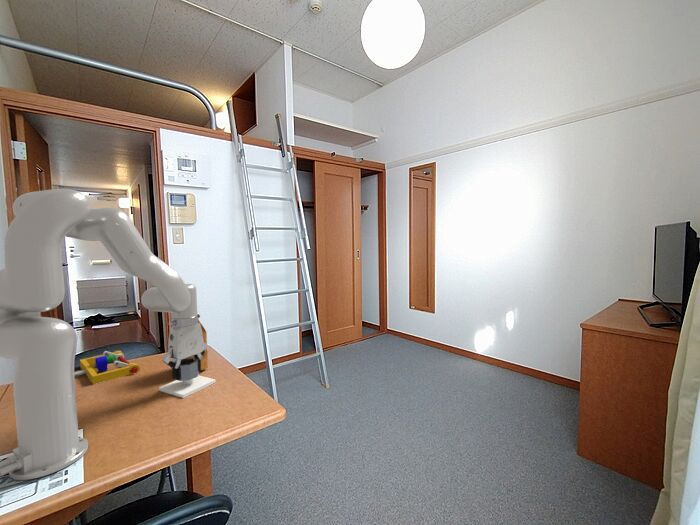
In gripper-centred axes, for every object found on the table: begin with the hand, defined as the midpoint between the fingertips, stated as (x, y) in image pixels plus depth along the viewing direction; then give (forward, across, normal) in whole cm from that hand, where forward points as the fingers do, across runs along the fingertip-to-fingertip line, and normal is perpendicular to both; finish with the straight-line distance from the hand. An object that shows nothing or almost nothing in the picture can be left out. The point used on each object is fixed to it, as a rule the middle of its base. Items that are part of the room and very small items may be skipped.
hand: (187, 374), depth 104 cm
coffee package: (+4, +10, +12) cm, 16 cm away
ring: (+1, 0, 0) cm, 1 cm away
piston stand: (+4, 0, 0) cm, 4 cm away
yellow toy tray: (+5, -5, +43) cm, 44 cm away
